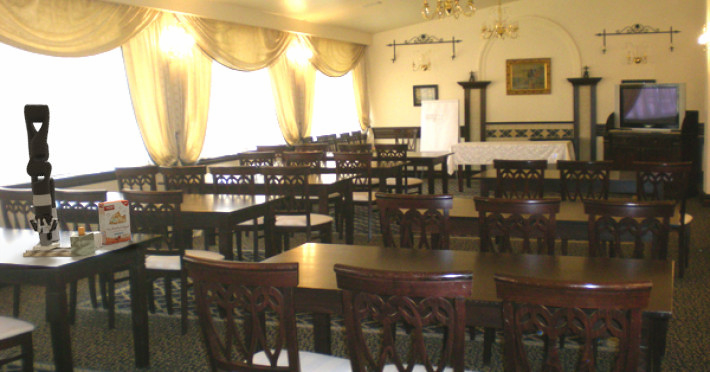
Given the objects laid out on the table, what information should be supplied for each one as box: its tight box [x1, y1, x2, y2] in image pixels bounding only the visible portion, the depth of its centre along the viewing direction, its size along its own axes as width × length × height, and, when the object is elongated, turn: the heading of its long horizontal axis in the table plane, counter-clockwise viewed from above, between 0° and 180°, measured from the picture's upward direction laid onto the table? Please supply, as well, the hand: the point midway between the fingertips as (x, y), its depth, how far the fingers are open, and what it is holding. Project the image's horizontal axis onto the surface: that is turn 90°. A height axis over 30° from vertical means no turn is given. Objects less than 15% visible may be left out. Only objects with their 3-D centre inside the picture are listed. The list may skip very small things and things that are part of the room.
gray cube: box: [32, 232, 61, 250], centre depth 302 cm, size 8×9×8 cm
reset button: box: [77, 226, 86, 235], centre depth 300 cm, size 3×3×5 cm
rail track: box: [22, 232, 96, 257], centre depth 302 cm, size 30×10×9 cm, turn 83°
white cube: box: [88, 230, 102, 248], centre depth 316 cm, size 7×7×7 cm
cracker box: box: [97, 199, 132, 246], centre depth 325 cm, size 14×6×21 cm, turn 143°
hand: (45, 240), depth 302 cm, fingers closed on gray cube, 3 cm apart
